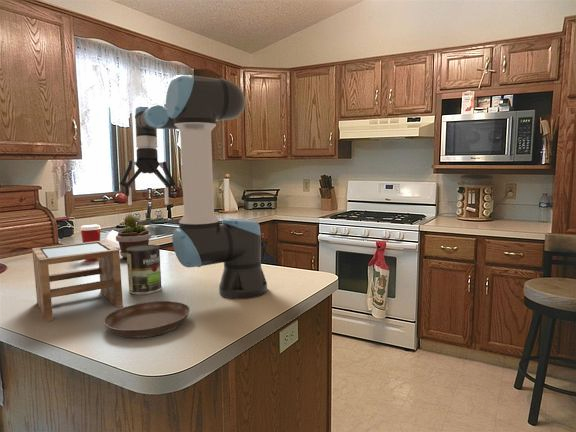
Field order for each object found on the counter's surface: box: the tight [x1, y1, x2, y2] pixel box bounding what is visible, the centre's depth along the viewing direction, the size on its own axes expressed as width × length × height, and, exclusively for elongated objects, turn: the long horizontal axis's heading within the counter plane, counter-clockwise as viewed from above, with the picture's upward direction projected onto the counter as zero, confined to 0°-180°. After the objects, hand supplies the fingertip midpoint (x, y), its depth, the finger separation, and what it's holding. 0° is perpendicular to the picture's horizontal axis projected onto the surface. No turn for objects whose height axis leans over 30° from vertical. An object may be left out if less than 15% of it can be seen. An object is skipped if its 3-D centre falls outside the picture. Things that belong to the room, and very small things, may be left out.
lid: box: [42, 243, 107, 258], centre depth 121 cm, size 15×15×1 cm
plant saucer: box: [103, 300, 190, 339], centre depth 106 cm, size 21×21×3 cm
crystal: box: [105, 229, 121, 250], centre depth 213 cm, size 7×7×24 cm
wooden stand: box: [31, 240, 124, 322], centre depth 122 cm, size 20×20×16 cm
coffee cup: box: [79, 224, 102, 262], centre depth 181 cm, size 8×8×15 cm
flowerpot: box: [116, 212, 152, 260], centre depth 184 cm, size 14×15×20 cm
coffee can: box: [126, 244, 163, 295], centre depth 135 cm, size 10×10×14 cm
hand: (148, 204), depth 159 cm, fingers open, 13 cm apart
